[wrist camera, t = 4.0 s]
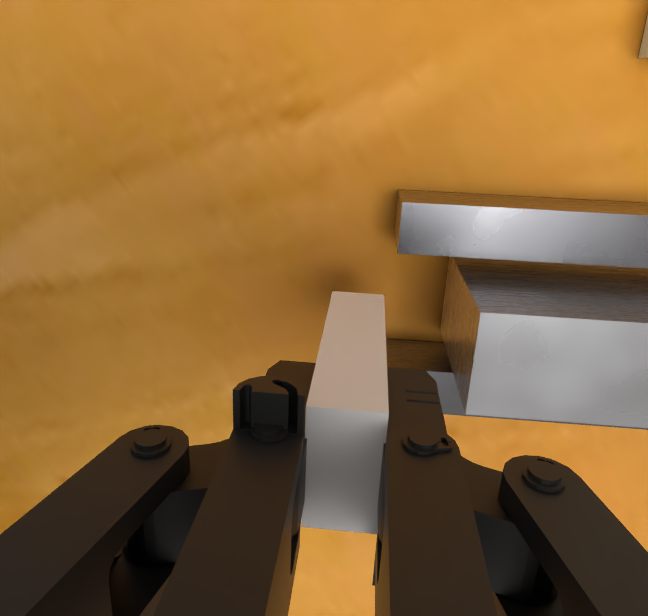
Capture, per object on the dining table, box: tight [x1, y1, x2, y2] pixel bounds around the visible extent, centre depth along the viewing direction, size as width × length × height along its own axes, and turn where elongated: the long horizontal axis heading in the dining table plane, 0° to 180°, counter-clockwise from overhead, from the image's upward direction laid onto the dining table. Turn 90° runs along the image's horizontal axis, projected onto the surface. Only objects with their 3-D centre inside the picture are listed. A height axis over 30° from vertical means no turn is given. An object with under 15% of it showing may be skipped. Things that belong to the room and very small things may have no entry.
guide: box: [386, 190, 648, 430], centre depth 19 cm, size 16×7×2 cm, turn 88°
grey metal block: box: [440, 257, 648, 428], centre depth 17 cm, size 8×3×7 cm, turn 88°
